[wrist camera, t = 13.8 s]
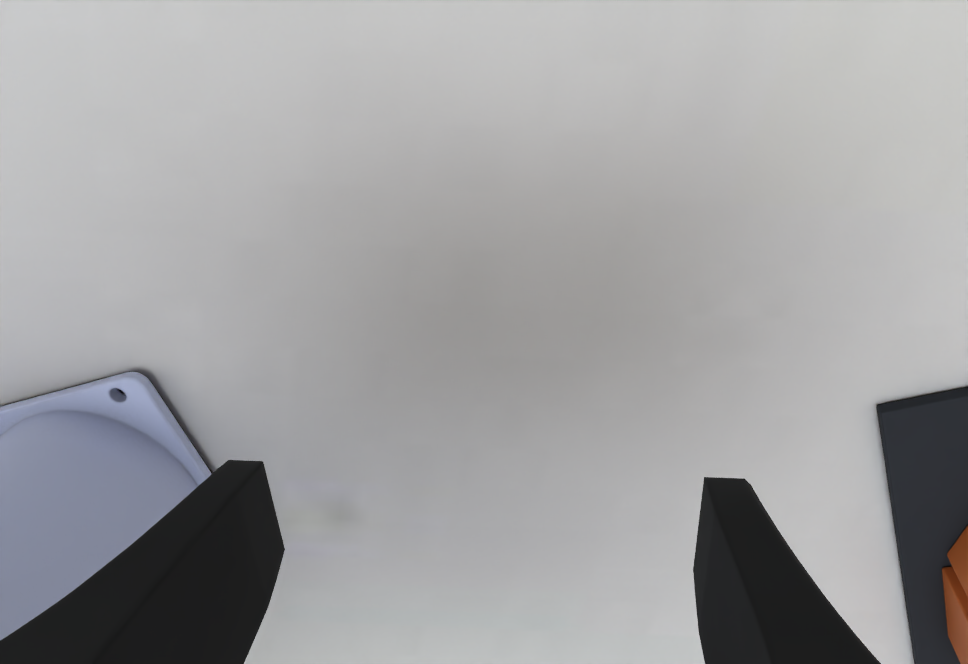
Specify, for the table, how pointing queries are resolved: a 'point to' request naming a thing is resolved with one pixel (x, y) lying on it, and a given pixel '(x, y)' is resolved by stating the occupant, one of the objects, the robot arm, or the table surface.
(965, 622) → the ring
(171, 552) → the robot arm
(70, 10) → the table surface
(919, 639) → the mat
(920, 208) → the table surface
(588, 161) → the table surface
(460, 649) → the table surface
